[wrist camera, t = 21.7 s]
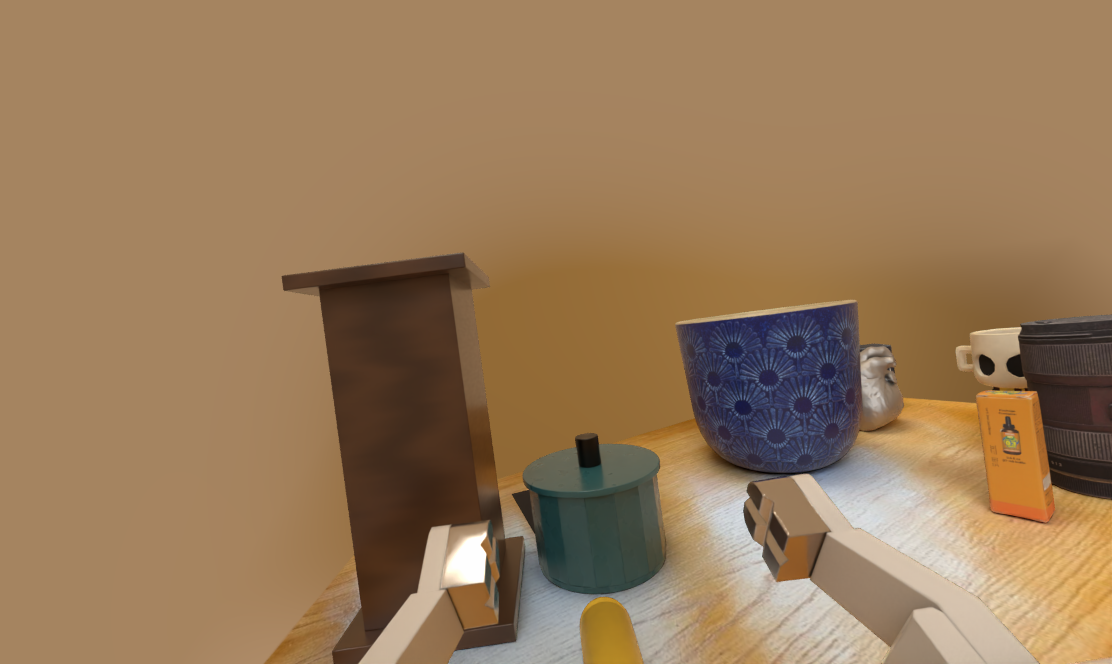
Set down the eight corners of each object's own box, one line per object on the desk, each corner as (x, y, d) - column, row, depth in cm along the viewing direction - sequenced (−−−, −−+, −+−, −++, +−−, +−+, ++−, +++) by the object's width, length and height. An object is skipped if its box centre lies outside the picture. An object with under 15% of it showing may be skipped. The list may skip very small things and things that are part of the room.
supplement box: (1058, 510, 34) (1042, 389, 34) (1048, 525, 32) (1031, 397, 32) (1000, 499, 37) (985, 387, 37) (988, 512, 35) (972, 394, 35)
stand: (333, 669, 27) (281, 275, 27) (398, 566, 39) (361, 293, 39) (515, 641, 28) (463, 252, 28) (524, 548, 40) (488, 276, 40)
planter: (796, 510, 40) (769, 312, 40) (662, 460, 59) (644, 326, 59) (920, 458, 48) (898, 293, 48) (766, 428, 67) (751, 311, 67)
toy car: (611, 503, 47) (609, 488, 47) (557, 518, 45) (555, 502, 45) (584, 481, 55) (582, 468, 55) (537, 492, 53) (536, 479, 53)
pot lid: (519, 516, 31) (513, 467, 31) (527, 464, 43) (522, 429, 43) (680, 492, 31) (674, 444, 31) (642, 448, 43) (638, 413, 43)
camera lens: (1182, 480, 36) (1159, 308, 36) (1195, 514, 31) (1169, 316, 31) (1039, 464, 43) (1020, 318, 43) (1032, 490, 38) (1010, 326, 38)
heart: (821, 415, 69) (813, 345, 67) (891, 411, 65) (885, 338, 64) (836, 443, 60) (828, 364, 58) (919, 442, 56) (912, 357, 54)
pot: (539, 603, 31) (525, 504, 31) (540, 533, 42) (531, 459, 42) (684, 582, 31) (670, 483, 31) (648, 517, 42) (638, 444, 42)
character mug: (950, 437, 53) (937, 336, 53) (981, 426, 55) (968, 329, 55) (1084, 457, 43) (1067, 332, 43) (1113, 442, 45) (1097, 323, 45)
